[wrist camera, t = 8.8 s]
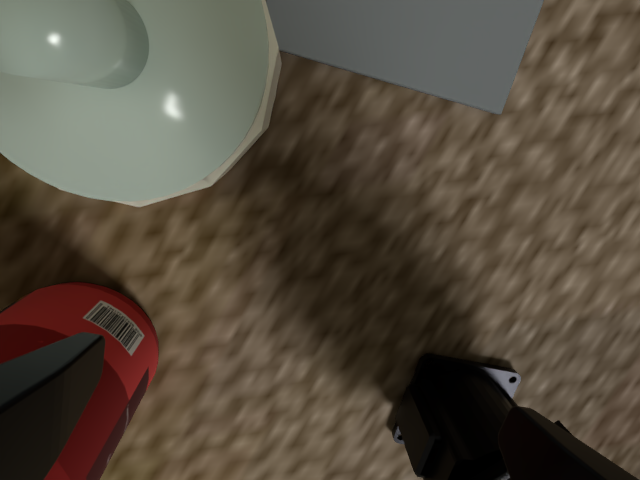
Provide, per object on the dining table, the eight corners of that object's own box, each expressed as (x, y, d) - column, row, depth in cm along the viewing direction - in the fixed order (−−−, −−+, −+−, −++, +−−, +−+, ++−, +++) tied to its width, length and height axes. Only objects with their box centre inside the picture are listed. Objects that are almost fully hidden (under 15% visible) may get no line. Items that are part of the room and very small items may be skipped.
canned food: (6, 268, 20) (-318, 441, 9) (166, 285, 21) (37, 460, 10) (18, 391, 22) (-233, 643, 11) (162, 402, 23) (52, 644, 12)
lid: (298, -83, 12) (303, -219, 7) (239, 221, 15) (215, 271, 10) (-60, -203, 10) (-355, -472, 6) (-48, 160, 13) (-239, 183, 8)
